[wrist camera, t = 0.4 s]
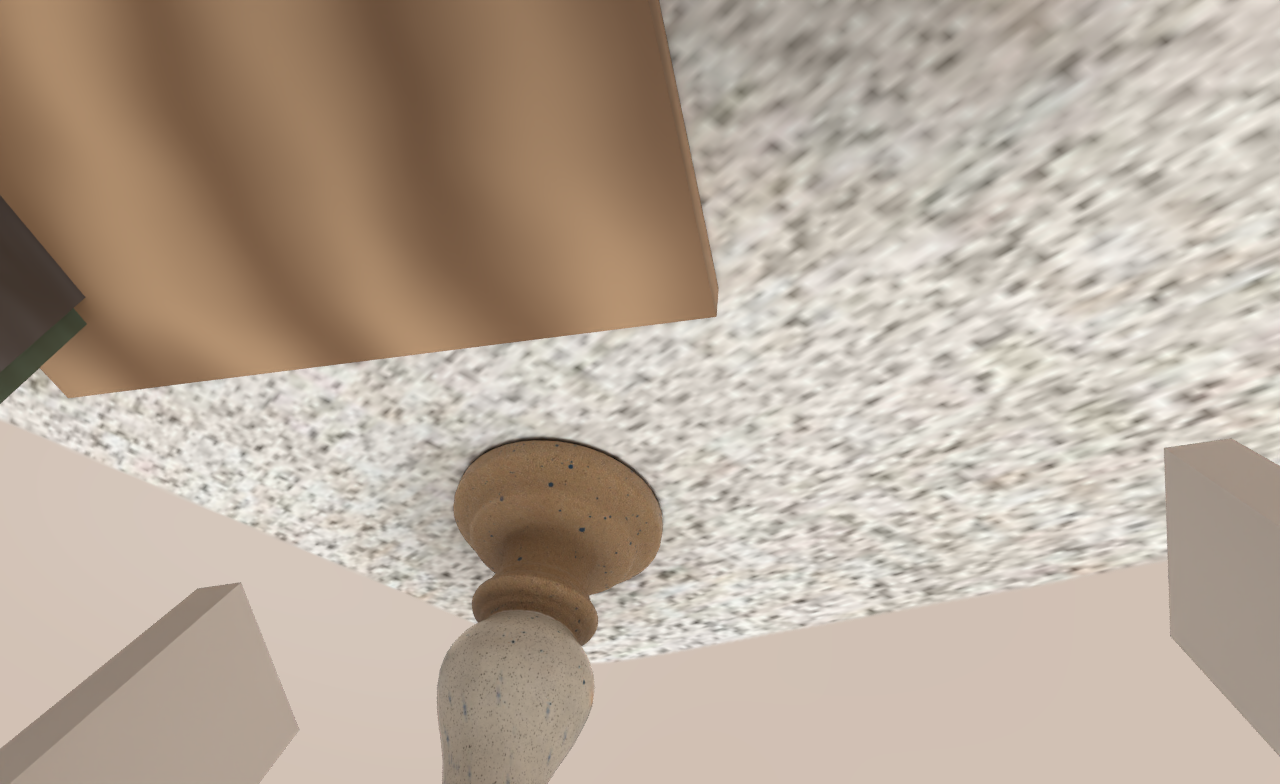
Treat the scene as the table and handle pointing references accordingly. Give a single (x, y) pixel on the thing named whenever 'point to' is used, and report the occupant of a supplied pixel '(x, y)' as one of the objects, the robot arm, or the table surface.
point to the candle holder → (536, 603)
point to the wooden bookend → (333, 183)
